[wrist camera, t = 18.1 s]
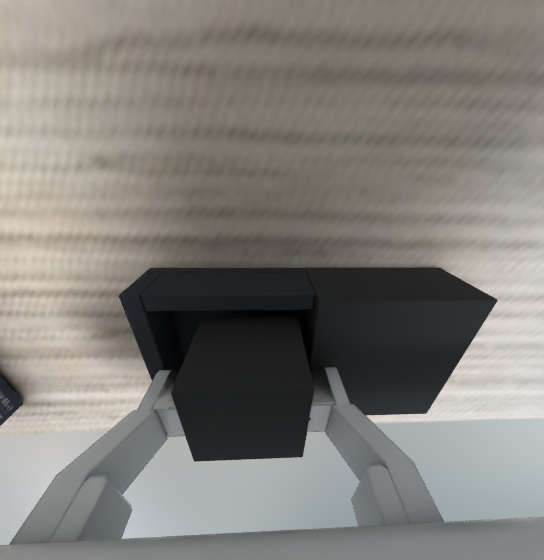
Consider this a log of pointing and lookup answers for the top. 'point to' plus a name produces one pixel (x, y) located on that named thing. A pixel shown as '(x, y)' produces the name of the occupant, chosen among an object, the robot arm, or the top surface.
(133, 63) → the top surface
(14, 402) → the small box
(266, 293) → the dock
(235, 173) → the top surface
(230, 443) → the block
